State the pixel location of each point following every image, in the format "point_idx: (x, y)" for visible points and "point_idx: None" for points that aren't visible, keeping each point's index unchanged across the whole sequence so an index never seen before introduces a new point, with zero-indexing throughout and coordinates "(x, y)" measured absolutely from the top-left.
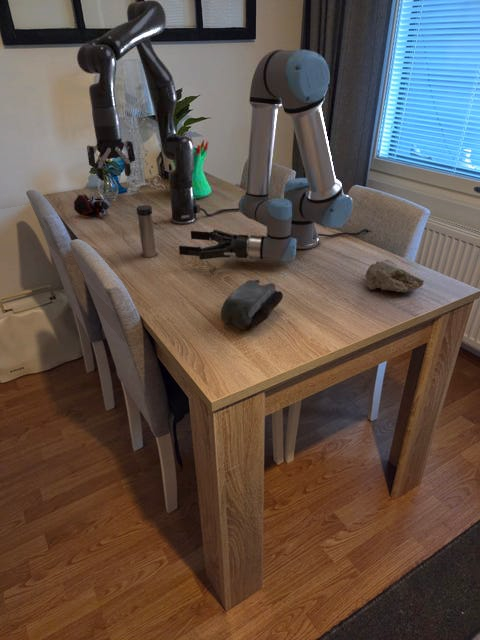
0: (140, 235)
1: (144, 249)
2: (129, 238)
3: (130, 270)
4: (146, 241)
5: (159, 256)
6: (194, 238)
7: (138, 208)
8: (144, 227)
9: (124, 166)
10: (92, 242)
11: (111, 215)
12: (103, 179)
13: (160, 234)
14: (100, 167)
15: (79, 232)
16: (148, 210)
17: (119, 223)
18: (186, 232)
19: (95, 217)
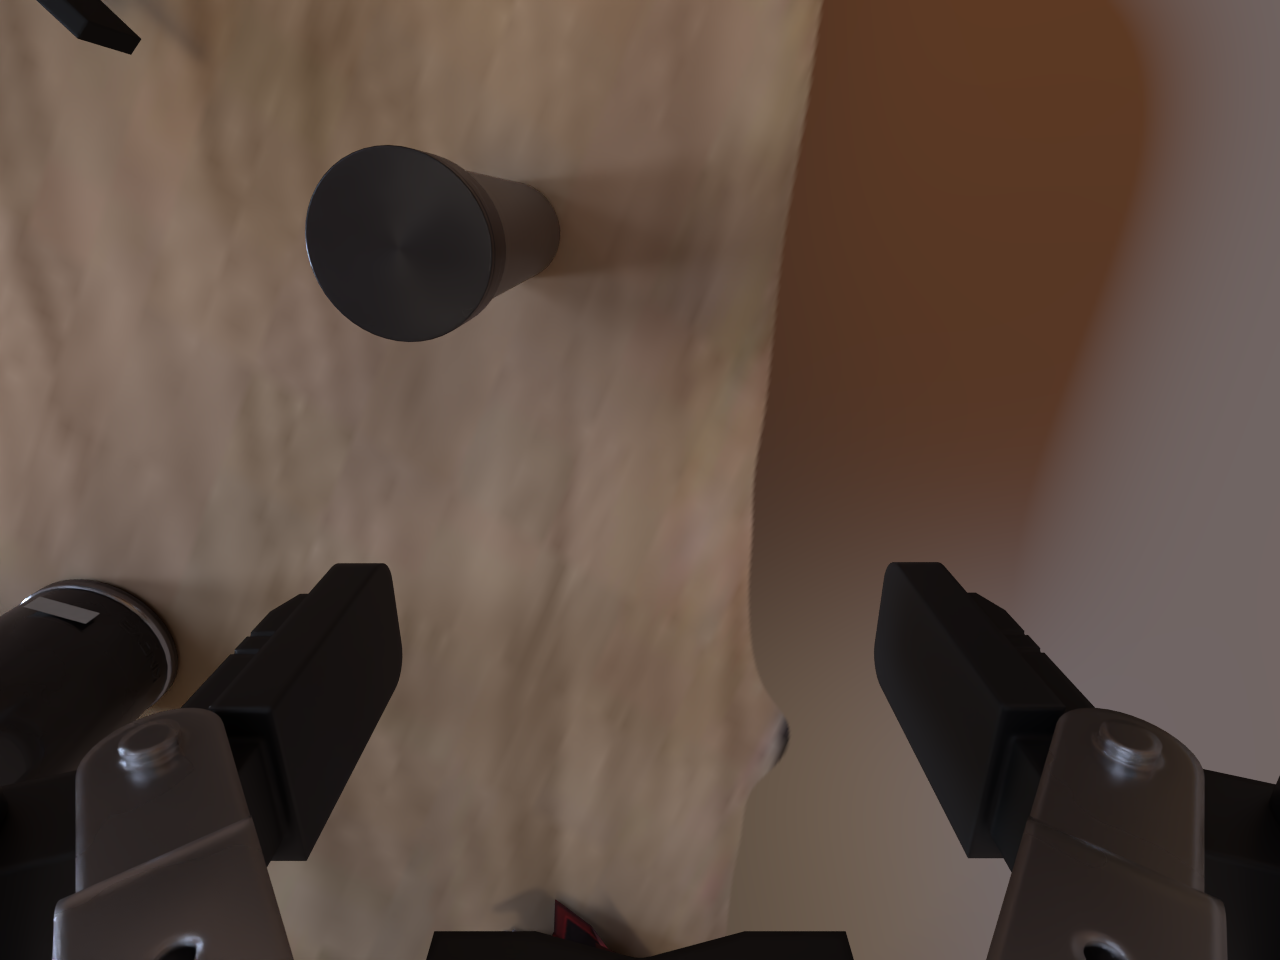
0: (535, 257)
1: (546, 209)
2: (525, 564)
3: (740, 38)
4: (517, 187)
5: (463, 155)
6: (108, 10)
7: (472, 252)
8: (494, 185)
9: (332, 781)
10: (741, 626)
11: (487, 918)
12: (914, 565)
13: (321, 517)
14: (1088, 724)
15: (739, 792)
16: (377, 147)
17: (490, 799)
18: (142, 452)
19: (582, 925)
